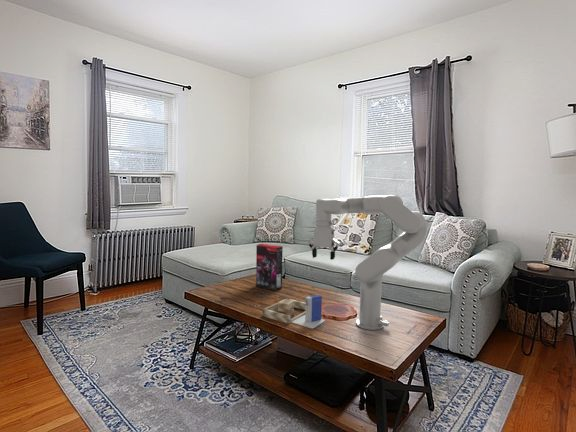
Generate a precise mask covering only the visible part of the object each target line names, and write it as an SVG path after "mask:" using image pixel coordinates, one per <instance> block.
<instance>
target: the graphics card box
mask: <svg viewBox="0 0 576 432" xmlns="http://www.w3.org/2000/svg"><path fill="white" fill-rule="evenodd" d="M283 249H284V247H283V246H282V245H275V244H268V243H259V244H257V245H256V254H255V255H256V259H255V261H256V264H255V265H256V266H255V267H256V271H255V272H256V274H255V275H256V276H255V280H256V281H255V286H256V287H259V288H264V289H267V290H274V291H279V290H281V289H283Z"/></svg>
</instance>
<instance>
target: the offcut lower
mask: <svg viewBox="0 0 576 432" xmlns="http://www.w3.org/2000/svg"><path fill="white" fill-rule="evenodd" d="M276 312H279V313H282V314H286V315H290V316H291V318H293V317H295V309H294V308H293V310H291V311H290V312H289V313H288V312H282V311H278V310H277V311H276Z"/></svg>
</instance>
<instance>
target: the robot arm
mask: <svg viewBox="0 0 576 432" xmlns="http://www.w3.org/2000/svg"><path fill="white" fill-rule="evenodd" d="M403 201H404V200H403V199H402V198H401V197H400V196H398V195H395V194H389V195H368V196H367V195H365V196H363V197H361V196H360V197H350V198H349V197H345V198H343V197H342V198H332V199H330V198H318V199H316V202H315V226H314V230H313V237H312V238H310V239H308V240H307V244H308V246H309V248H310V250H311V254H312V258H313V259H315V258H317V255H318V250H317V247H319V248H329V250H330V253H329V254H330V255H329V256H330V257H329V259H330V260H335V258H336V251H337V250H338V249H339V247H340V245H341V242H339V241H338V240H337V239H335V232H334V231H335V230H334V227H333V226H334V224H335V223H334V222H333V220H332V215H336V216H337V215H342V214H344V215H345V214H363V215H368V216H369V215H384V216H385V217H386V218H387V219H388V220H390V221H391V222H392V223H393V224H394V225H396V226H397V227H398V228H399V229H400V230H401V231H403V232H402V233H401V234H399V235H398V236H397V237H395V239H393V240H392V241H391V242H389V243H388V244H386V245H384V246H382V247H380V248H378V249H377V250H375V251H374V252H373V253H372V254H370V255H369V256H368V257H366V258H365V259H364V260H363V261H360V262H359V263H358V264H357V266H356V268H355V271H354V272H355V273H354V274H355V277H356V279H357V280H358V281H359V282H360V289H359V290H360V293H359V318H357V319H356V321H355V325H356V326H357V327H359V328H360V329H363V330H369V331H370V330H371V331H376V330H381V329H382V328H384V327H389V324H390V323H389V321H388V320H386V319H383V315H381V307H382V306H381V305H382V303H381V301H382V284H383V277H384V274H385V273H387V272H388V271H390V270H391V269H393V268H394V267H395V266H396V265H397V264H398V263H399V261H401V260H402V259H403V258H405V257H406V256H408V255H409V254H410V253H411V252H413V251H414V250H415V249H416V248H418V247H419V246H420V245H421V243H423V241H424V239H425V237H426V235H427V232H428V225H427V220H426V217H425V216H424V215H423V214H422V213H420V212H418V211H412V210H410V209H409V208H408V207H407V206H406V205H405V204H404V202H403Z"/></svg>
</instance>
